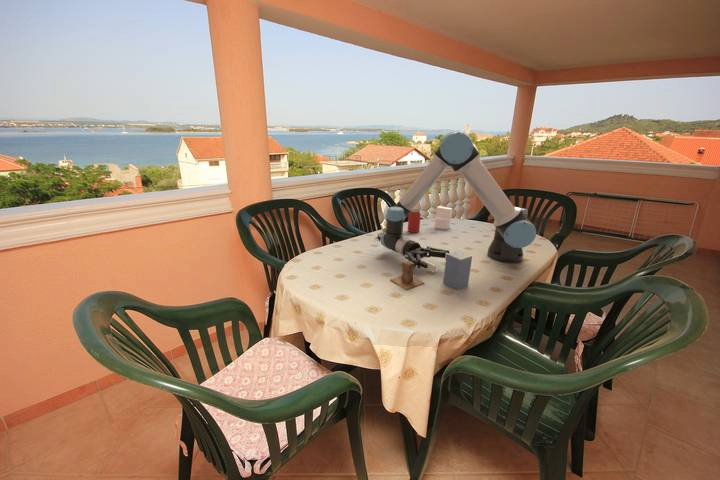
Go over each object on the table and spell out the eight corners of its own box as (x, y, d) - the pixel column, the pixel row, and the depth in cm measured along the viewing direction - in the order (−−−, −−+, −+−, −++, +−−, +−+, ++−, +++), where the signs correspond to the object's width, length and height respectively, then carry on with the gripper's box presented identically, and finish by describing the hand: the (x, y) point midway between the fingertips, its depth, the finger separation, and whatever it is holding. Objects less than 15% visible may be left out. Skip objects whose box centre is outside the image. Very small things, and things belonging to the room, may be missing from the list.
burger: (397, 243, 162) (397, 229, 160) (374, 240, 166) (375, 226, 163) (401, 236, 173) (402, 223, 171) (380, 233, 177) (381, 220, 174)
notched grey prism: (454, 278, 124) (457, 250, 120) (467, 285, 119) (472, 256, 115) (443, 283, 120) (446, 254, 116) (456, 289, 115) (461, 259, 111)
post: (407, 275, 126) (408, 256, 124) (424, 283, 119) (426, 264, 117) (390, 280, 121) (391, 261, 119) (406, 289, 114) (408, 269, 112)
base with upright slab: (431, 227, 190) (433, 207, 186) (438, 224, 196) (440, 205, 192) (445, 230, 184) (448, 210, 180) (452, 227, 191) (454, 207, 187)
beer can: (419, 233, 178) (420, 212, 174) (407, 232, 179) (408, 211, 175) (419, 230, 184) (421, 209, 180) (407, 229, 185) (409, 209, 181)
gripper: (427, 250, 145) (466, 266, 128) (385, 262, 131) (423, 282, 115) (429, 235, 142) (469, 249, 126) (386, 245, 129) (425, 262, 112)
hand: (447, 265), depth 120 cm, fingers open, 13 cm apart
